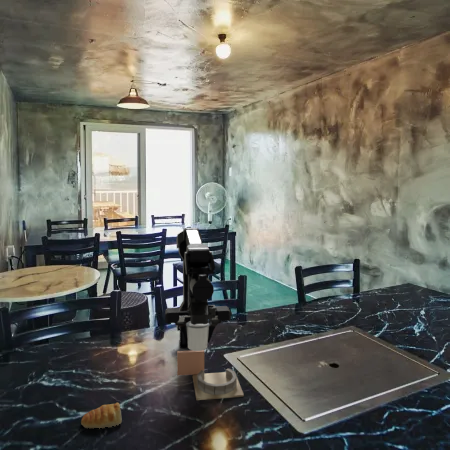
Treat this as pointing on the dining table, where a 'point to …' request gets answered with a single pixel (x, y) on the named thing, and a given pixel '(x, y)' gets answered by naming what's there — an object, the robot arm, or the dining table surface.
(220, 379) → the dock
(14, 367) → the dining table surface
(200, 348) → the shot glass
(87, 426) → the pastry
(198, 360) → the block
